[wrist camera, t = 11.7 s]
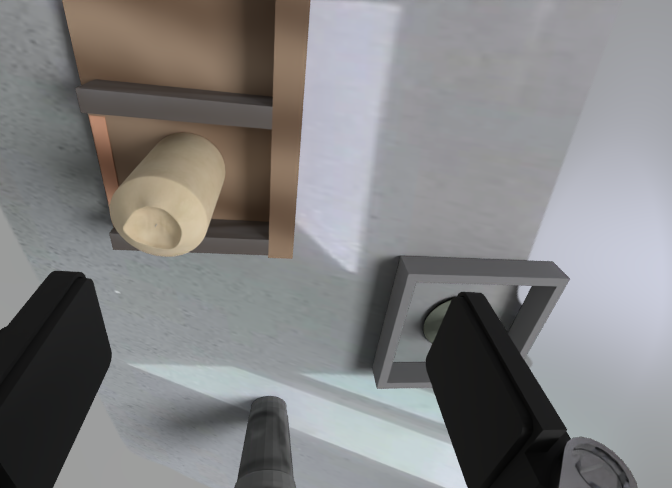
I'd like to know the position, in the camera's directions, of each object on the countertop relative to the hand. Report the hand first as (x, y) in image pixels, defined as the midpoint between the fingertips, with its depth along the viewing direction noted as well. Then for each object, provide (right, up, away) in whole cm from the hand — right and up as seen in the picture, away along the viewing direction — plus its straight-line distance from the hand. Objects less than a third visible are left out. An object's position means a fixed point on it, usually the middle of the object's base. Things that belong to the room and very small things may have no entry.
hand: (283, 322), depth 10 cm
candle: (-10, +8, +20) cm, 24 cm away
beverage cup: (-7, -19, +39) cm, 44 cm away
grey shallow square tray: (+15, -7, +34) cm, 38 cm away
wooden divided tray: (-9, +13, +18) cm, 24 cm away
